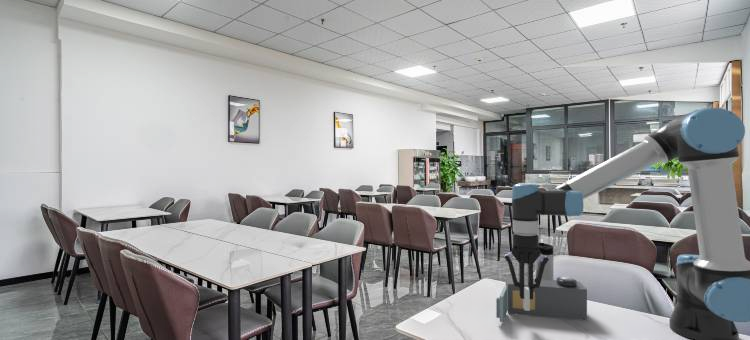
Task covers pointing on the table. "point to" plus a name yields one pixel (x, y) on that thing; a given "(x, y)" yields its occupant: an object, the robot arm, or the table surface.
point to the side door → (501, 305)
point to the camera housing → (550, 299)
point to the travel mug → (548, 269)
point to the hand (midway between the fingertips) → (526, 308)
